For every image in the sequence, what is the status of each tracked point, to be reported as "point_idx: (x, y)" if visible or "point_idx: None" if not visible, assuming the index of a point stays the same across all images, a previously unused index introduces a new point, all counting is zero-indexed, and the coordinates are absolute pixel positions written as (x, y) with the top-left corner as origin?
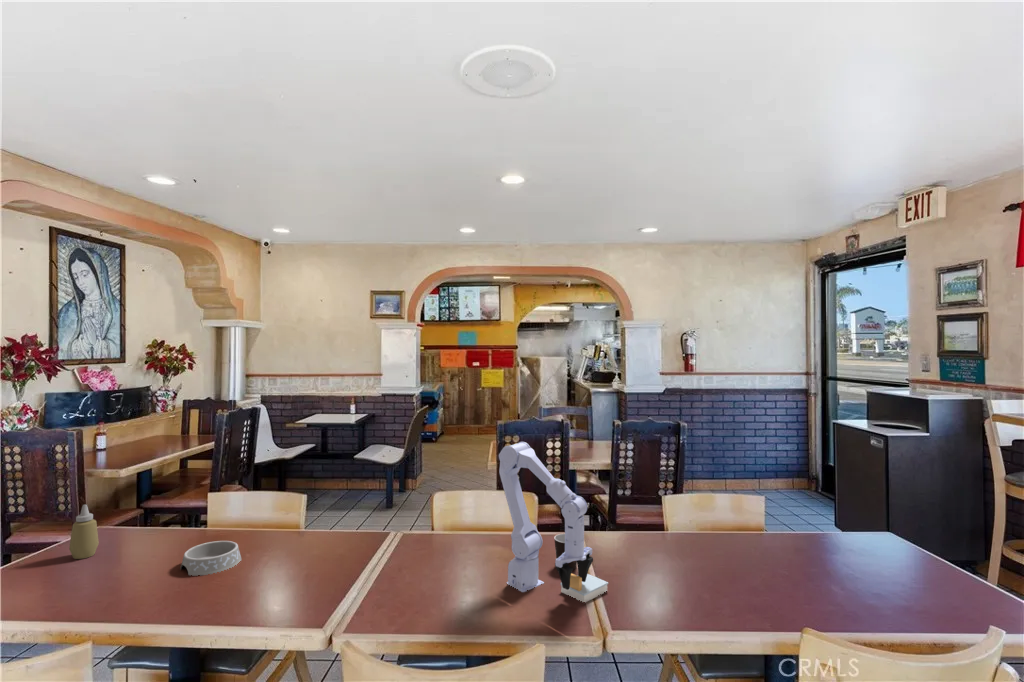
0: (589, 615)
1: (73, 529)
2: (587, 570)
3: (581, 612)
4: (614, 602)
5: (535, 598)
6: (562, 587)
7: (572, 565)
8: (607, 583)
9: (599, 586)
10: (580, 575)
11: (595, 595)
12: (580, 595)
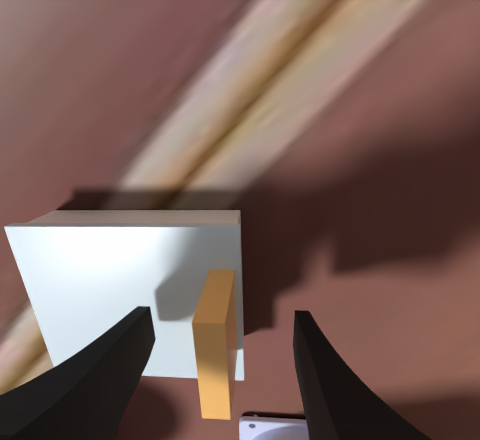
0: (313, 110)
1: None
2: (86, 355)
3: (318, 163)
4: (89, 115)
5: (362, 373)
6: None
7: None
8: (15, 225)
9: (86, 228)
10: (140, 355)
11: (142, 215)
12: None
